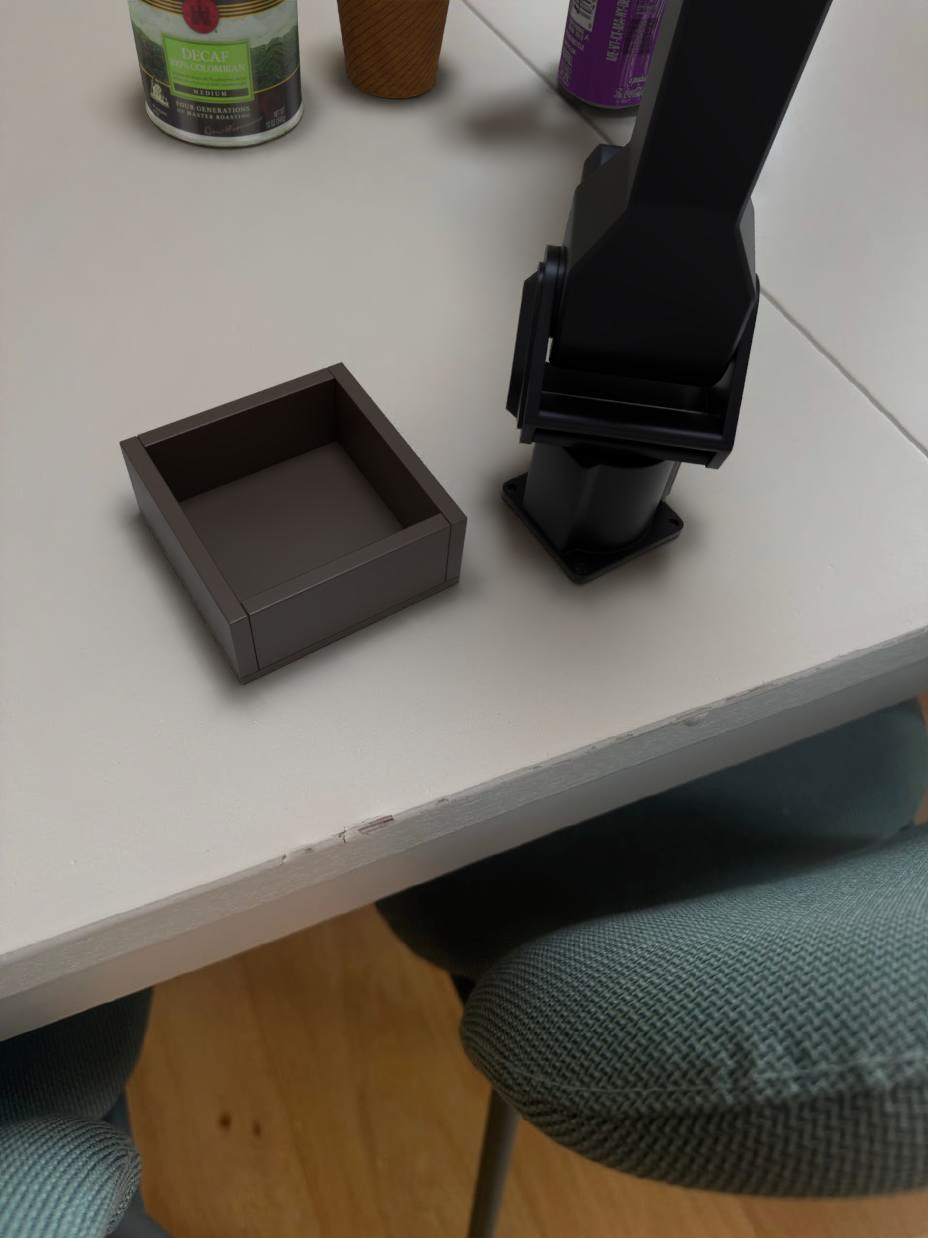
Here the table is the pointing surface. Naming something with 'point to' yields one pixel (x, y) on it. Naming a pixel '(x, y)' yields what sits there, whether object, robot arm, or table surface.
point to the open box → (295, 517)
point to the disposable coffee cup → (392, 44)
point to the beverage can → (609, 50)
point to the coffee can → (219, 68)
